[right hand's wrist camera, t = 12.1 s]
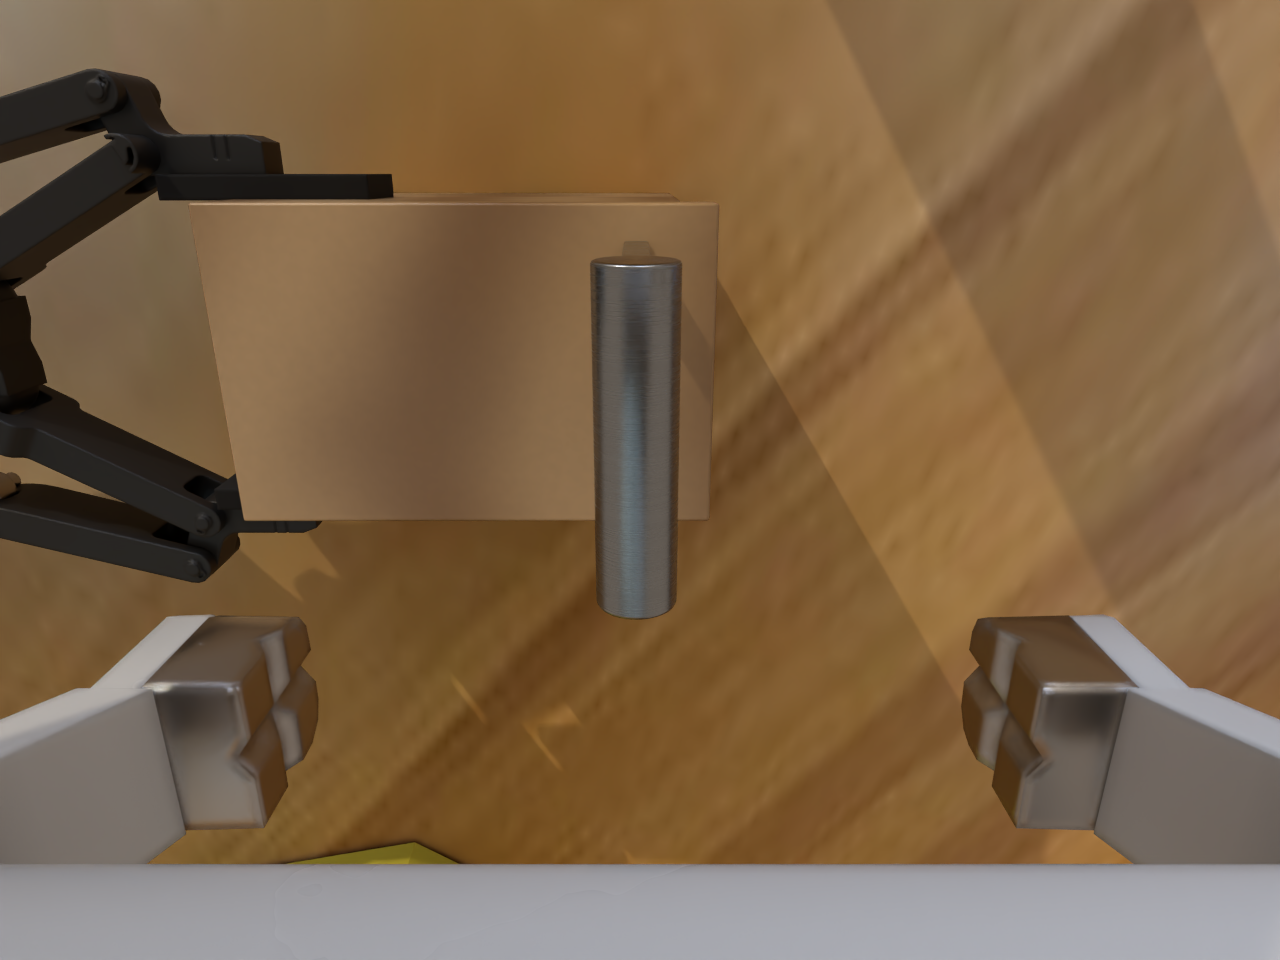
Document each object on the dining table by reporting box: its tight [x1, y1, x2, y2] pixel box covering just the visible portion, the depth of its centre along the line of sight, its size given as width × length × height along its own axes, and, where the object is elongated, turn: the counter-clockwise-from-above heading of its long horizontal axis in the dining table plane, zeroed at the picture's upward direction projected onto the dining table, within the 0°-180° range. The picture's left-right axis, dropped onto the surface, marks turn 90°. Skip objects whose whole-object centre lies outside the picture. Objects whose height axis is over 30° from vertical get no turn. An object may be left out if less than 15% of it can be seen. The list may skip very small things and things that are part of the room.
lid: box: [188, 202, 719, 619], centre depth 22 cm, size 15×10×9 cm, turn 90°
